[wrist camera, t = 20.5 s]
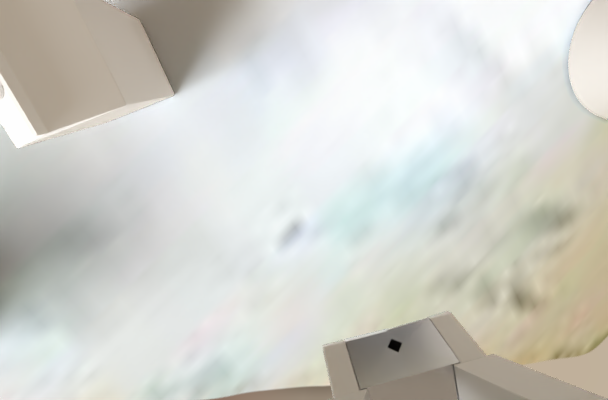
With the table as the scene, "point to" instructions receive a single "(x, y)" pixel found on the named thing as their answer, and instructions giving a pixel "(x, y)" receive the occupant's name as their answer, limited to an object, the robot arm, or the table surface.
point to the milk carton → (72, 67)
